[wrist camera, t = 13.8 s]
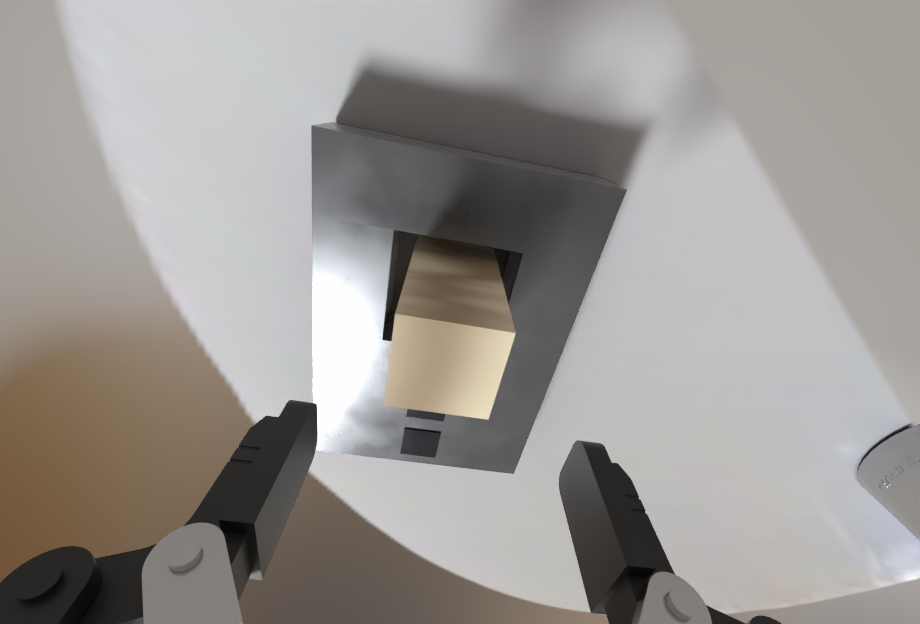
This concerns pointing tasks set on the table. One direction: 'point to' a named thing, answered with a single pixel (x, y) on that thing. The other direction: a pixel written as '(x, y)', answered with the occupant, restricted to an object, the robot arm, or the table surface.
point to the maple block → (449, 331)
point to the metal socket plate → (453, 218)
